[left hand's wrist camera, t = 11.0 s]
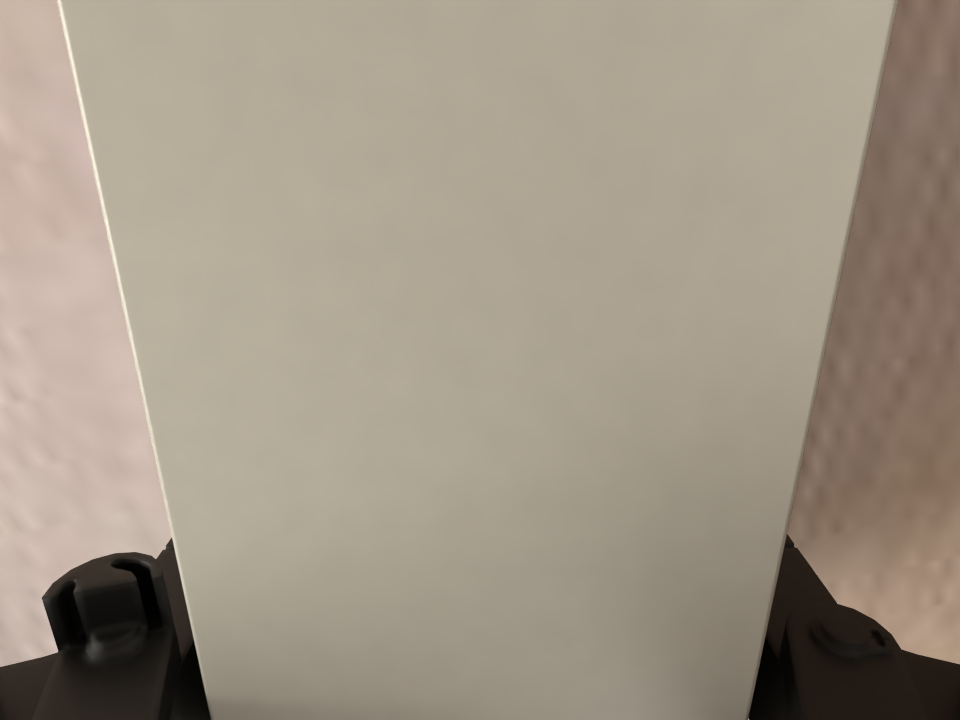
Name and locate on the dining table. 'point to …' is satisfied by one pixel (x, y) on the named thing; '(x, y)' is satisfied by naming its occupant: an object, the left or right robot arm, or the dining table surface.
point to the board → (478, 333)
